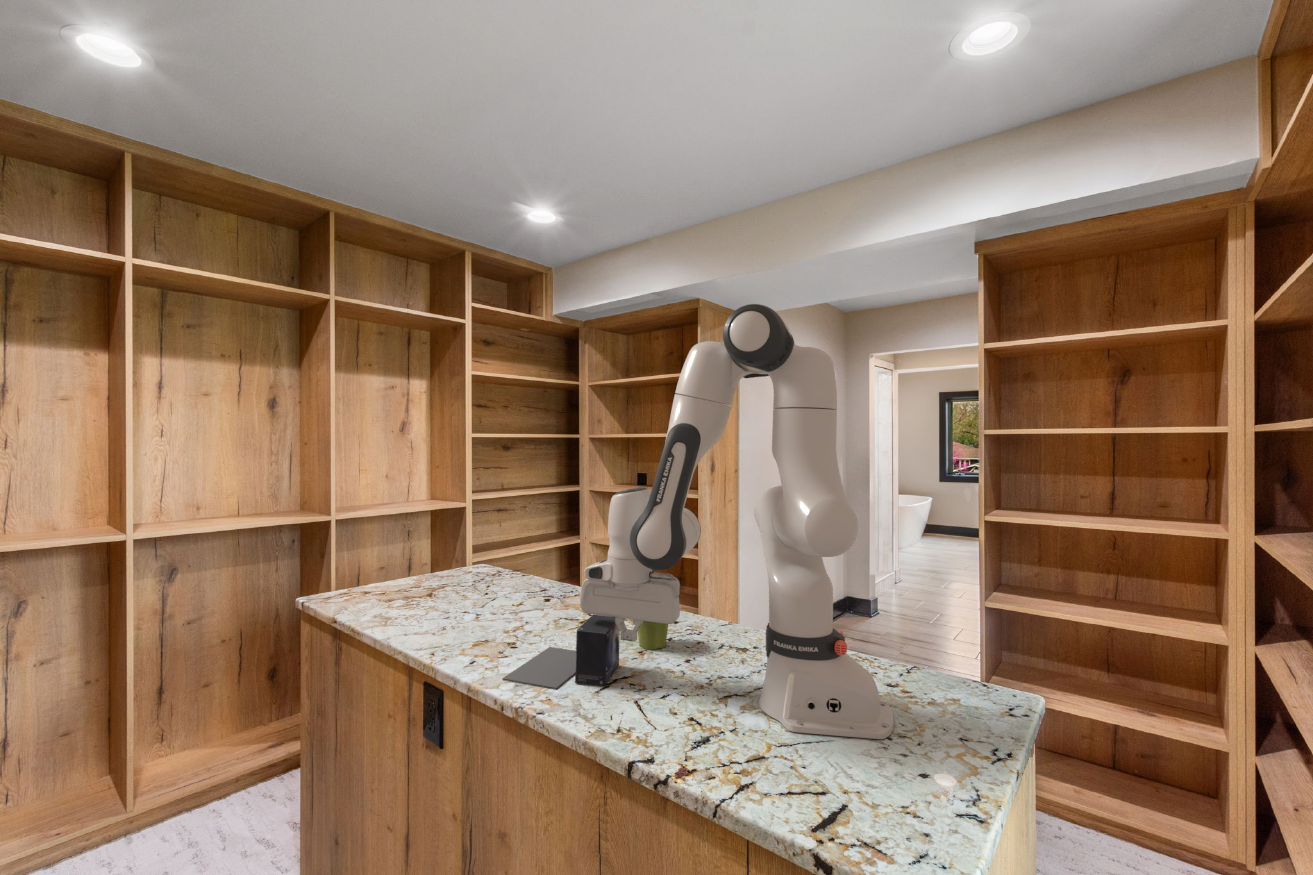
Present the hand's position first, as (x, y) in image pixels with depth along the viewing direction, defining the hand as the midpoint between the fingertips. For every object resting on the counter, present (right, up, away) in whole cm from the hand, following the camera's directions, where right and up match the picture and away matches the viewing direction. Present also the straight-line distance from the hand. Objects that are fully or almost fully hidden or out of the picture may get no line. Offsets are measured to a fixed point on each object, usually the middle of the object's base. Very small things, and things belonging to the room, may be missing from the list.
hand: (628, 639), depth 112 cm
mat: (-16, -8, +6) cm, 19 cm away
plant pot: (+4, -8, +19) cm, 21 cm away
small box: (-6, -8, +2) cm, 10 cm away
